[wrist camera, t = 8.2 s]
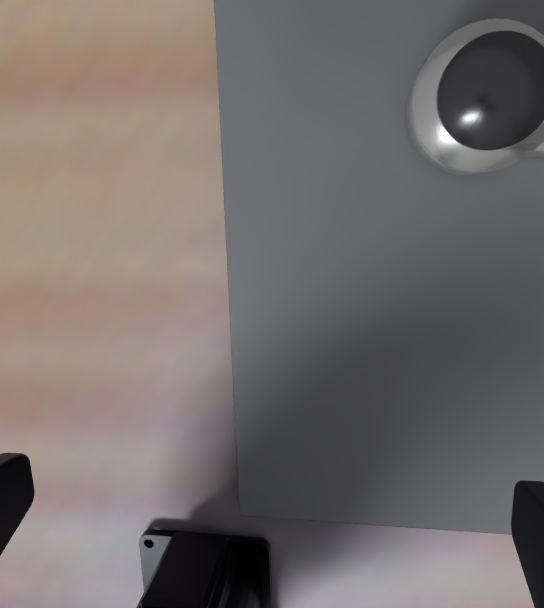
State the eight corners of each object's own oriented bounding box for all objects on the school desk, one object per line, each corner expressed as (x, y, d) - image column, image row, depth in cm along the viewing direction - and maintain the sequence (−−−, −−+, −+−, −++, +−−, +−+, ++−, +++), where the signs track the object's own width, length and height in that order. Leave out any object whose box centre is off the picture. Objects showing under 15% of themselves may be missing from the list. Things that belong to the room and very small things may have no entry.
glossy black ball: (539, 149, 14) (550, 147, 14) (431, 154, 15) (436, 151, 14) (549, 35, 14) (561, 25, 13) (436, 43, 14) (441, 35, 13)
